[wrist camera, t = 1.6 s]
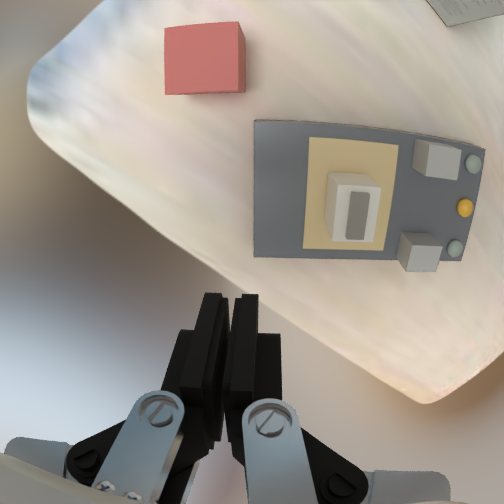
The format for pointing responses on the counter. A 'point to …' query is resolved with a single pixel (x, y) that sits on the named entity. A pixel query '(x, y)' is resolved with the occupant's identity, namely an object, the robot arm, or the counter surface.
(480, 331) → the counter surface
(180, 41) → the red block
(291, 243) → the breaker panel
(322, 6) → the counter surface
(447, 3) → the small box
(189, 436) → the robot arm
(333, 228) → the breaker switch
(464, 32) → the counter surface
